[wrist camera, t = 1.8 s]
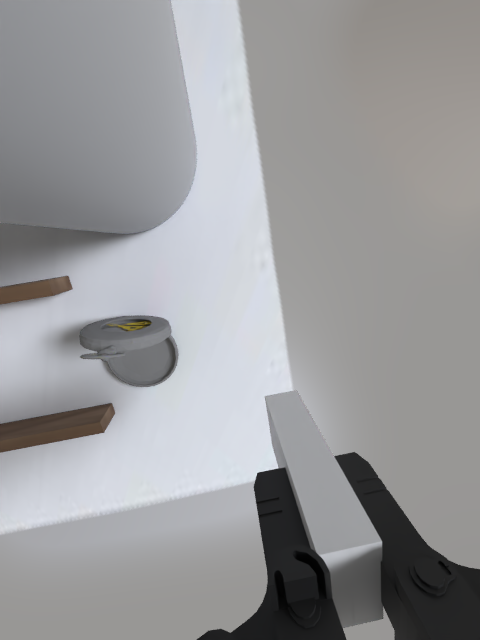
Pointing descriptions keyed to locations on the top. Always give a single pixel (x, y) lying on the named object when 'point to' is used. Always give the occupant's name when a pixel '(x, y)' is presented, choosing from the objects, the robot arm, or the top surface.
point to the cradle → (55, 424)
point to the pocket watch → (133, 348)
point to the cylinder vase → (93, 115)
